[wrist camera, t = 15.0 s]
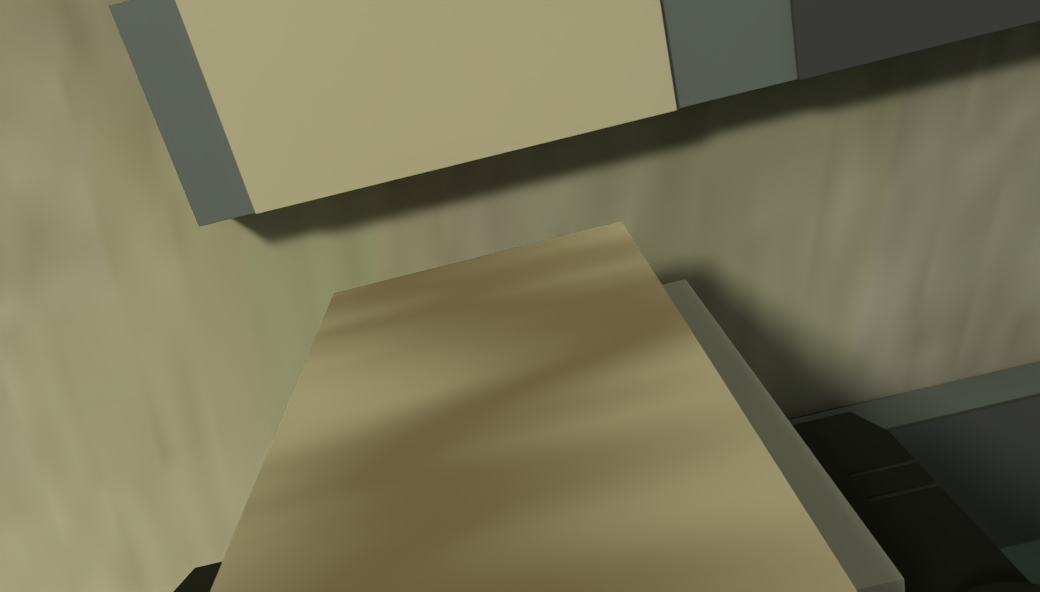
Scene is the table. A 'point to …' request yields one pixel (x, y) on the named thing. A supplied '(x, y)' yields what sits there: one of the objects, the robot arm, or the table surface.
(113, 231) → the table surface
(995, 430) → the puzzle board
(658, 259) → the table surface
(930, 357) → the table surface
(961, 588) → the robot arm
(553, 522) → the maple block
